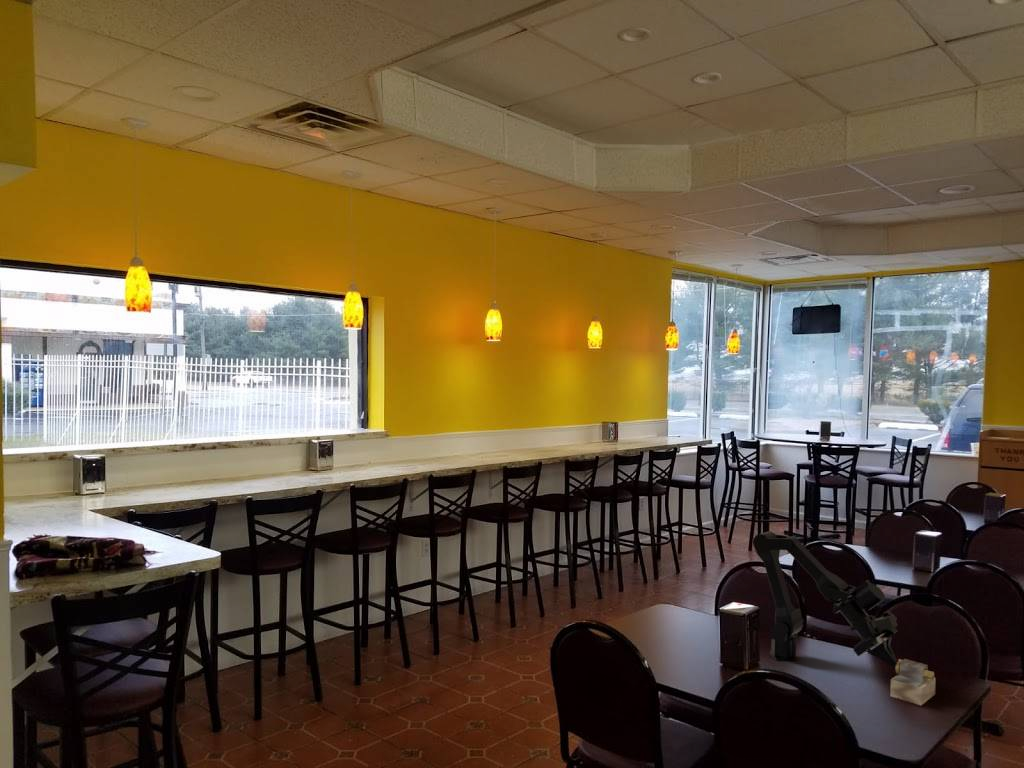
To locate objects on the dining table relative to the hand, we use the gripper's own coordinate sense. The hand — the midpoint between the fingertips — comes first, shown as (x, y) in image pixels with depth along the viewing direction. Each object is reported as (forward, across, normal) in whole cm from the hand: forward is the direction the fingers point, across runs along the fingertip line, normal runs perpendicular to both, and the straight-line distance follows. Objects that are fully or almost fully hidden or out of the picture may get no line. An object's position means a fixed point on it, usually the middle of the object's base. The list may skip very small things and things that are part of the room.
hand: (897, 666), depth 217 cm
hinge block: (+8, 0, +2) cm, 8 cm away
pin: (+5, 0, -2) cm, 5 cm away
